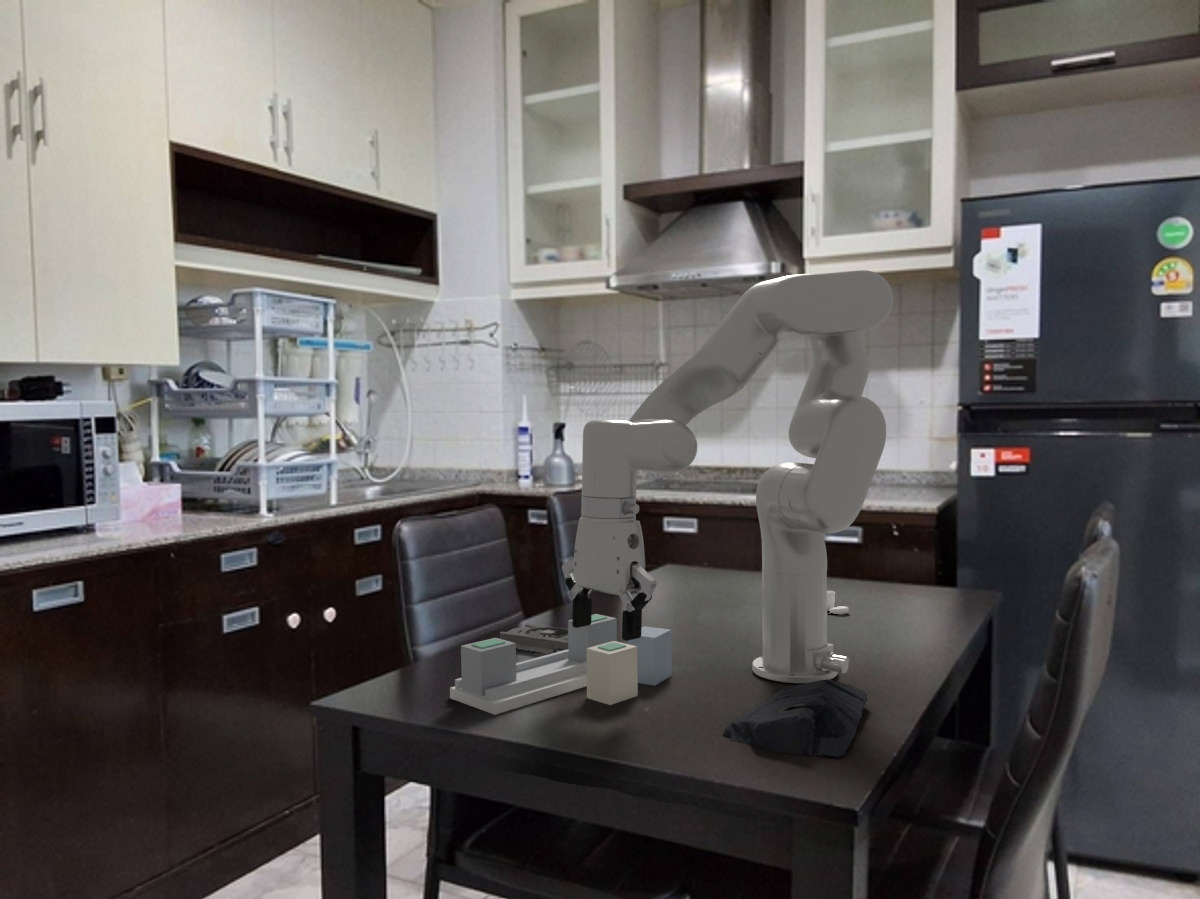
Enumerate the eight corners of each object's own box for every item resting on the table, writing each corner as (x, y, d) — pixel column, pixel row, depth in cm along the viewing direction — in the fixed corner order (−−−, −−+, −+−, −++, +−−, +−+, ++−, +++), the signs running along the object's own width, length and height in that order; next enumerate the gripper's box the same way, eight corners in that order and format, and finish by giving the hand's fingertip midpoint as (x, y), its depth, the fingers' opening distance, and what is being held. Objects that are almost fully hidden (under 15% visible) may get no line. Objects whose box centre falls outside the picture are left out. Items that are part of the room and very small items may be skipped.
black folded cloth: (886, 710, 121) (886, 675, 121) (840, 768, 103) (840, 726, 102) (776, 693, 129) (776, 660, 129) (714, 743, 110) (713, 705, 110)
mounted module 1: (516, 686, 126) (515, 641, 126) (481, 696, 122) (481, 650, 122) (496, 679, 129) (495, 636, 129) (461, 689, 125) (460, 644, 125)
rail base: (630, 672, 138) (630, 653, 138) (494, 714, 120) (494, 693, 120) (584, 660, 146) (584, 642, 145) (450, 698, 127) (449, 677, 127)
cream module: (637, 696, 128) (637, 645, 127) (610, 705, 124) (609, 652, 123) (614, 689, 131) (614, 639, 130) (587, 698, 127) (586, 646, 127)
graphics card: (616, 626, 155) (576, 640, 145) (616, 648, 155) (576, 664, 145) (536, 616, 164) (493, 629, 154) (536, 637, 164) (494, 651, 154)
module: (671, 675, 137) (671, 629, 137) (655, 685, 132) (654, 637, 132) (644, 671, 139) (644, 626, 139) (627, 681, 134) (627, 634, 134)
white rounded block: (853, 618, 174) (854, 597, 174) (812, 618, 174) (812, 597, 174) (842, 608, 183) (842, 587, 183) (802, 608, 183) (802, 588, 183)
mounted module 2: (617, 656, 140) (616, 617, 140) (589, 665, 136) (588, 623, 136) (596, 651, 144) (596, 612, 143) (568, 659, 139) (568, 619, 139)
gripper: (674, 513, 122) (671, 639, 123) (584, 502, 135) (582, 618, 135) (636, 516, 117) (633, 649, 118) (546, 505, 129) (544, 625, 130)
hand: (606, 632), depth 126 cm, fingers open, 9 cm apart
